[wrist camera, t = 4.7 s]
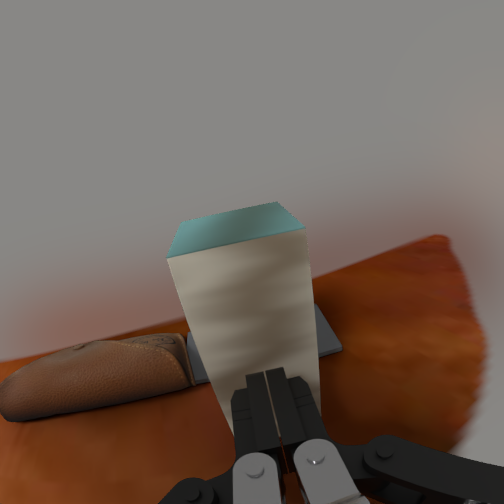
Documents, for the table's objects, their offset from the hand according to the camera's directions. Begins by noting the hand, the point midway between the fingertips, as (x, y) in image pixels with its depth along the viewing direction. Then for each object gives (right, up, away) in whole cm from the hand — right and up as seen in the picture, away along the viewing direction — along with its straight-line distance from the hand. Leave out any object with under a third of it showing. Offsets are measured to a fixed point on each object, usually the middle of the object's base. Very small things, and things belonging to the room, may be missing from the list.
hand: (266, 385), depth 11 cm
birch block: (+1, -5, +6) cm, 8 cm away
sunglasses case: (-14, -6, +9) cm, 18 cm away
